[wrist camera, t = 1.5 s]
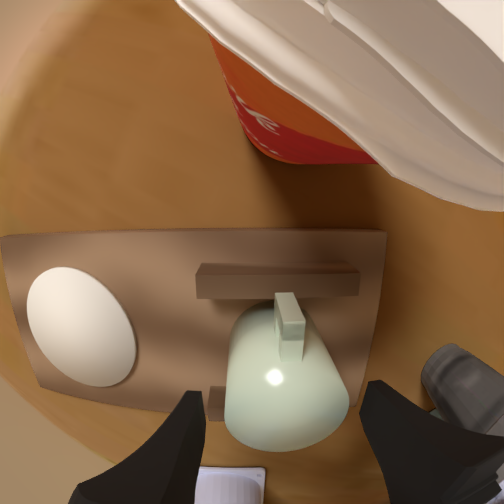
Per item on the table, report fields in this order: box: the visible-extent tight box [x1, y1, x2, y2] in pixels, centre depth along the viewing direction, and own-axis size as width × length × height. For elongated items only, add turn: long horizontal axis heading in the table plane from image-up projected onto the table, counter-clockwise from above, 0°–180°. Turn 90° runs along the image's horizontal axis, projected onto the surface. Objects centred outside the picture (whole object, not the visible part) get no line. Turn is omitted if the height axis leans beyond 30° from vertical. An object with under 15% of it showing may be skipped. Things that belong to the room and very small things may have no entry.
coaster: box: [27, 266, 137, 387], centre depth 16 cm, size 9×9×1 cm
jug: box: [224, 292, 349, 452], centre depth 13 cm, size 7×5×6 cm
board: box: [0, 228, 388, 421], centre depth 16 cm, size 13×26×3 cm, turn 90°
